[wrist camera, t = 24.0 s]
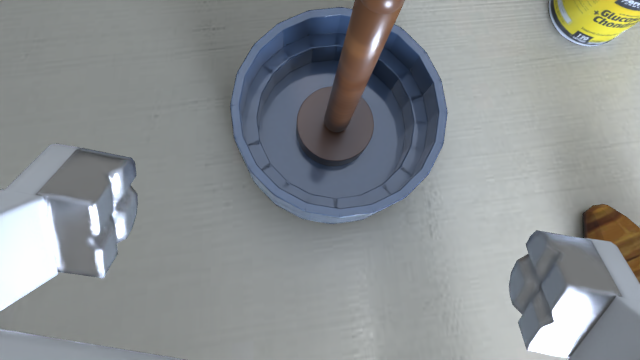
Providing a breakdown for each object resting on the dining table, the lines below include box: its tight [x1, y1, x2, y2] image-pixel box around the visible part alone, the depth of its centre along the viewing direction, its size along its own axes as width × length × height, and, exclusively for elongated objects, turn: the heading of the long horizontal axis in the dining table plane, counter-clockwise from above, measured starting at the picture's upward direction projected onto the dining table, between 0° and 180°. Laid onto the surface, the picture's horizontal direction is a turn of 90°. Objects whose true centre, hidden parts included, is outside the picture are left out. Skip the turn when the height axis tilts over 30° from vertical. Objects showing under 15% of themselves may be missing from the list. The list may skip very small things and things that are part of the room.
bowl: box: [230, 7, 447, 224], centre depth 36 cm, size 14×14×6 cm
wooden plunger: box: [296, 0, 405, 166], centre depth 28 cm, size 6×6×21 cm
